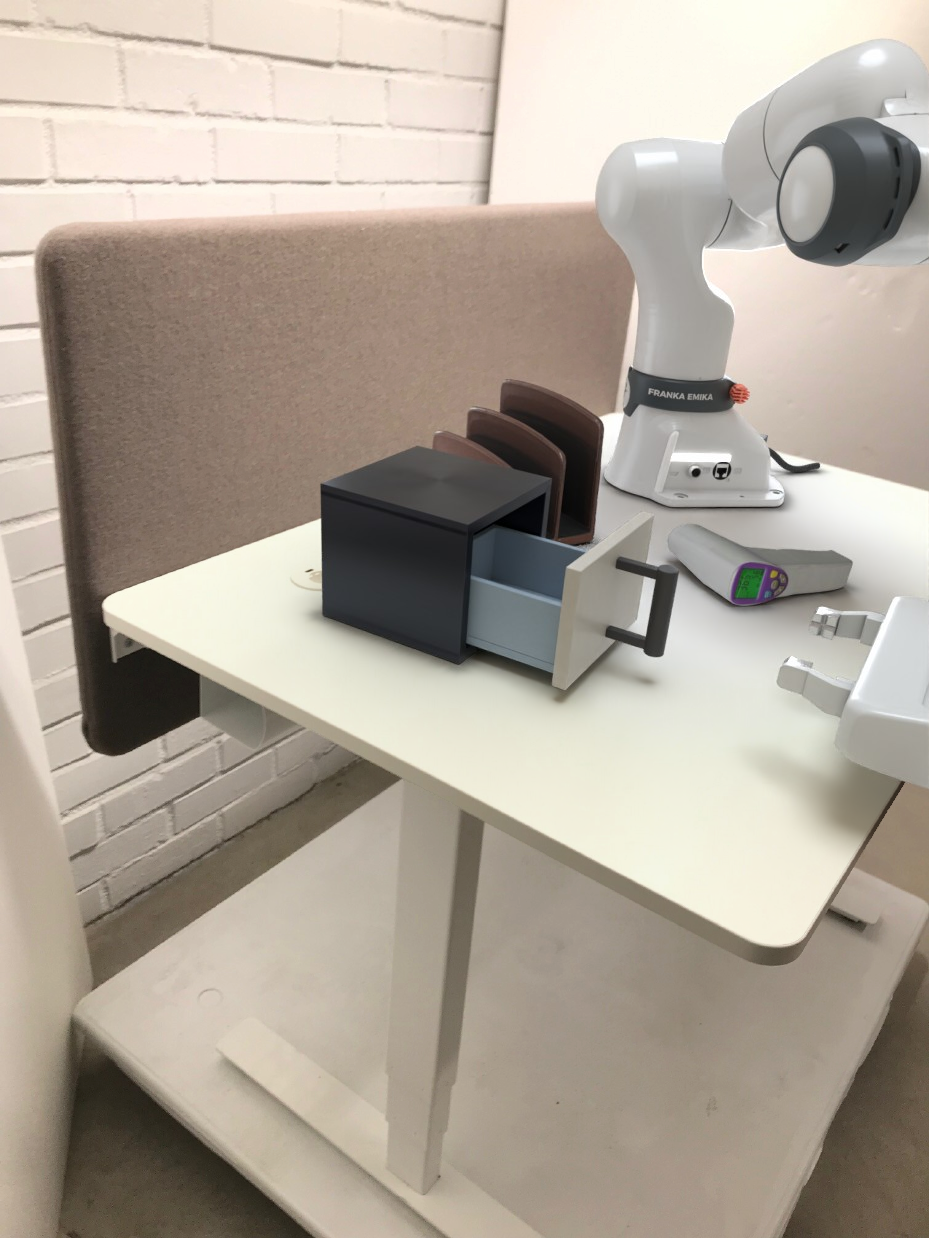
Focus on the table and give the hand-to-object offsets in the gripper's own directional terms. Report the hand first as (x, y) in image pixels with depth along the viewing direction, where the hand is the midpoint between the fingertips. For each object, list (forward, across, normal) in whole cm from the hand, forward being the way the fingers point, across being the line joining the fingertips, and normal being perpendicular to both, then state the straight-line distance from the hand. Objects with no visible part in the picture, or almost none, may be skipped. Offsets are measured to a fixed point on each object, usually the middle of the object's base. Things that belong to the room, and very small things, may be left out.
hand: (797, 643), depth 64 cm
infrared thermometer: (+9, -26, +7) cm, 29 cm away
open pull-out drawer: (+19, 0, +6) cm, 20 cm away
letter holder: (+37, -24, +7) cm, 44 cm away
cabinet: (+31, 0, +7) cm, 31 cm away
